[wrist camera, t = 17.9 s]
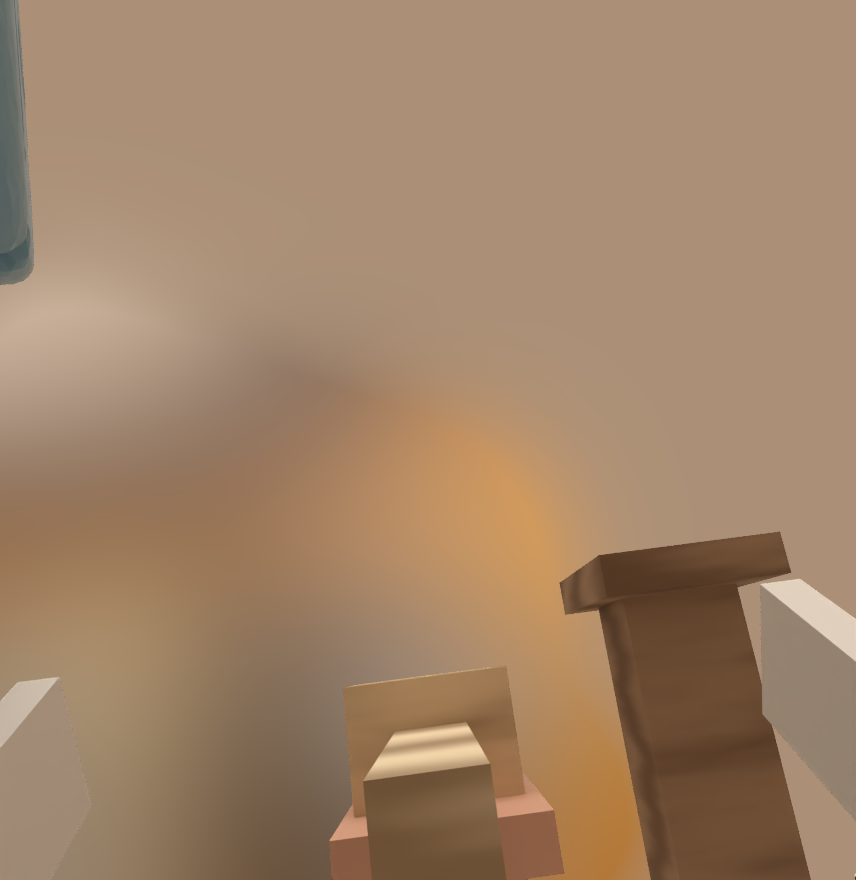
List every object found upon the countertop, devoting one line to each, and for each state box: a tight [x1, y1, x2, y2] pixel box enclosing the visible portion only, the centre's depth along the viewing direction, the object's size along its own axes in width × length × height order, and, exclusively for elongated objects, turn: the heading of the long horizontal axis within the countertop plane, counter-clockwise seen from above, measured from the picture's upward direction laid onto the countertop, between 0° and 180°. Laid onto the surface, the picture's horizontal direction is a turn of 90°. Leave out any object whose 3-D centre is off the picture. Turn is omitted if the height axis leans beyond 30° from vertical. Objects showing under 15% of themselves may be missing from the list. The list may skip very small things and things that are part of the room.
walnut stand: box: [560, 532, 811, 880], centre depth 37 cm, size 12×9×30 cm
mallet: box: [343, 666, 525, 880], centre depth 26 cm, size 20×7×5 cm, turn 179°
